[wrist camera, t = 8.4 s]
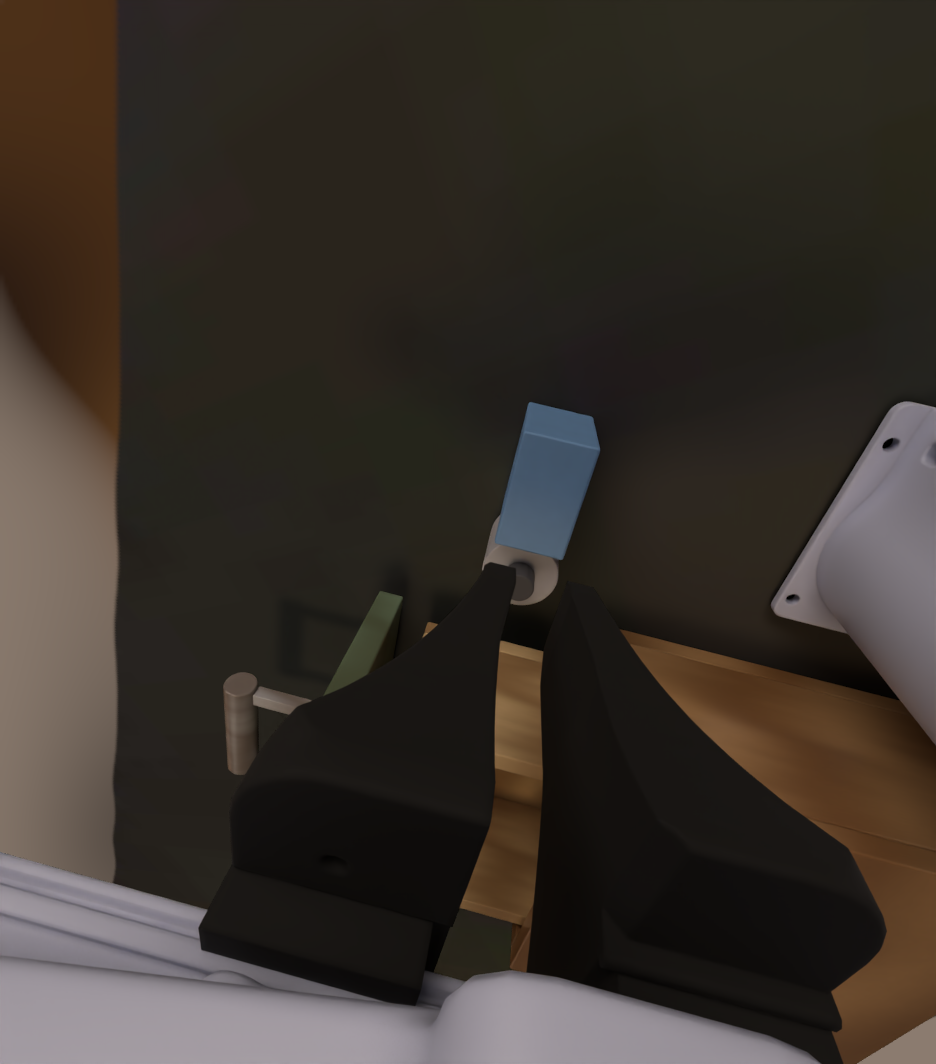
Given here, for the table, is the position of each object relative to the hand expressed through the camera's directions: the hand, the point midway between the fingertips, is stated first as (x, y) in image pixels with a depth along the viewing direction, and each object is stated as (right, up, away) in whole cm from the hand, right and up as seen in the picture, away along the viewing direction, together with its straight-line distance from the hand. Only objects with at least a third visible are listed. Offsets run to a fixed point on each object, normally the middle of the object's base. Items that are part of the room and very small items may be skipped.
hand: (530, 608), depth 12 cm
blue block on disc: (+1, +3, +10) cm, 11 cm away
